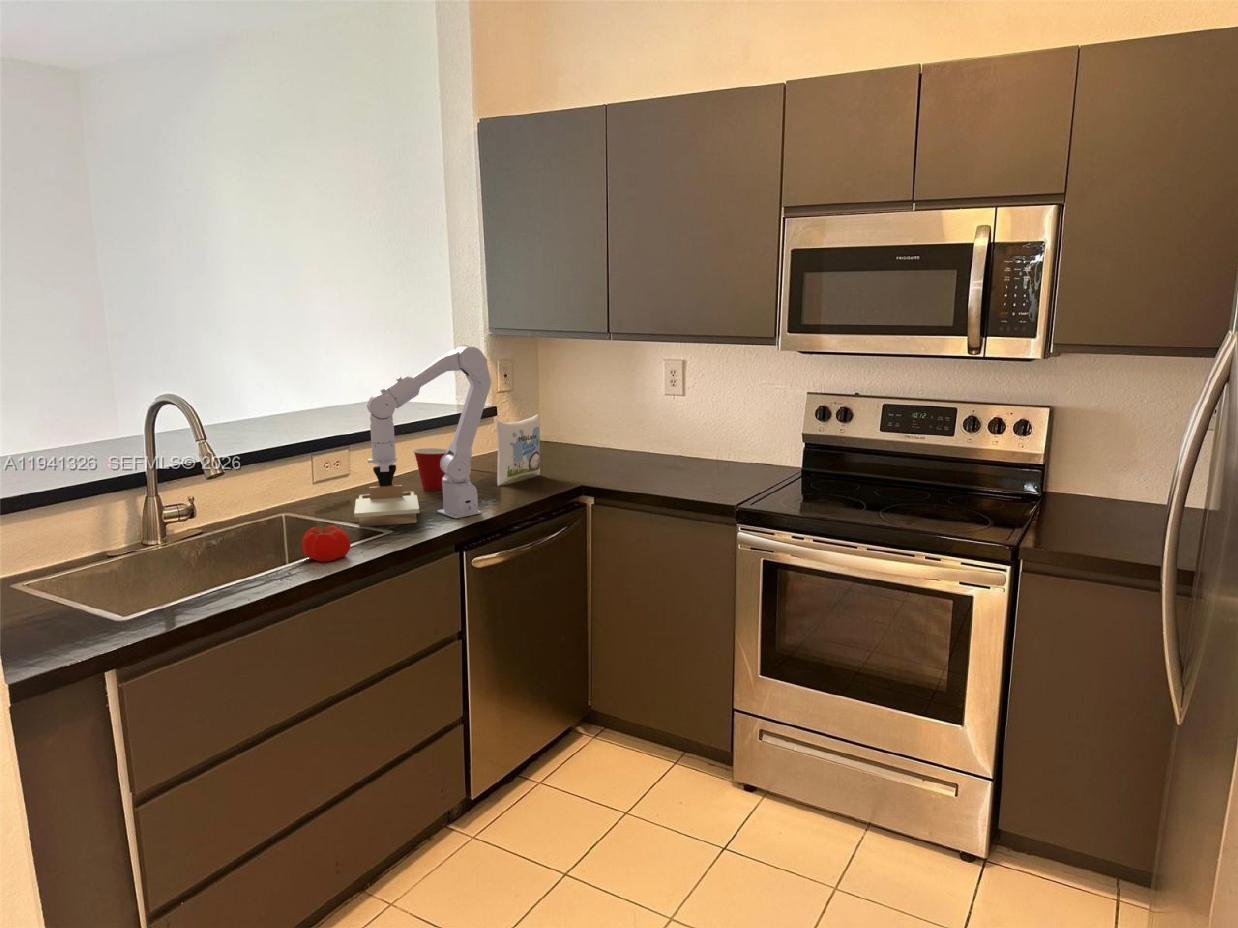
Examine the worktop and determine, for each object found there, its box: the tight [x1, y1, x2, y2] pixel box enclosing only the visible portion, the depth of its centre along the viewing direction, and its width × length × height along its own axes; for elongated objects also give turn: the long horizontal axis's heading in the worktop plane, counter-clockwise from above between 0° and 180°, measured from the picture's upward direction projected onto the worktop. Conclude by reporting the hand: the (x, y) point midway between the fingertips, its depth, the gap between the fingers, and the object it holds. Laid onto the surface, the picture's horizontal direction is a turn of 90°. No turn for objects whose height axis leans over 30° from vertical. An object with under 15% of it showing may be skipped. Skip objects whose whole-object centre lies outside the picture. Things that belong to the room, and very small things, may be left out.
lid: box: [353, 484, 420, 518], centre depth 212 cm, size 15×15×4 cm
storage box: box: [358, 491, 418, 528], centre depth 223 cm, size 14×14×5 cm
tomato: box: [301, 525, 352, 563], centre depth 190 cm, size 10×11×6 cm
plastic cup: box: [412, 447, 448, 492], centre depth 255 cm, size 11×11×12 cm
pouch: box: [496, 413, 541, 487], centre depth 264 cm, size 8×19×20 cm, turn 141°
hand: (386, 494), depth 220 cm, fingers closed
